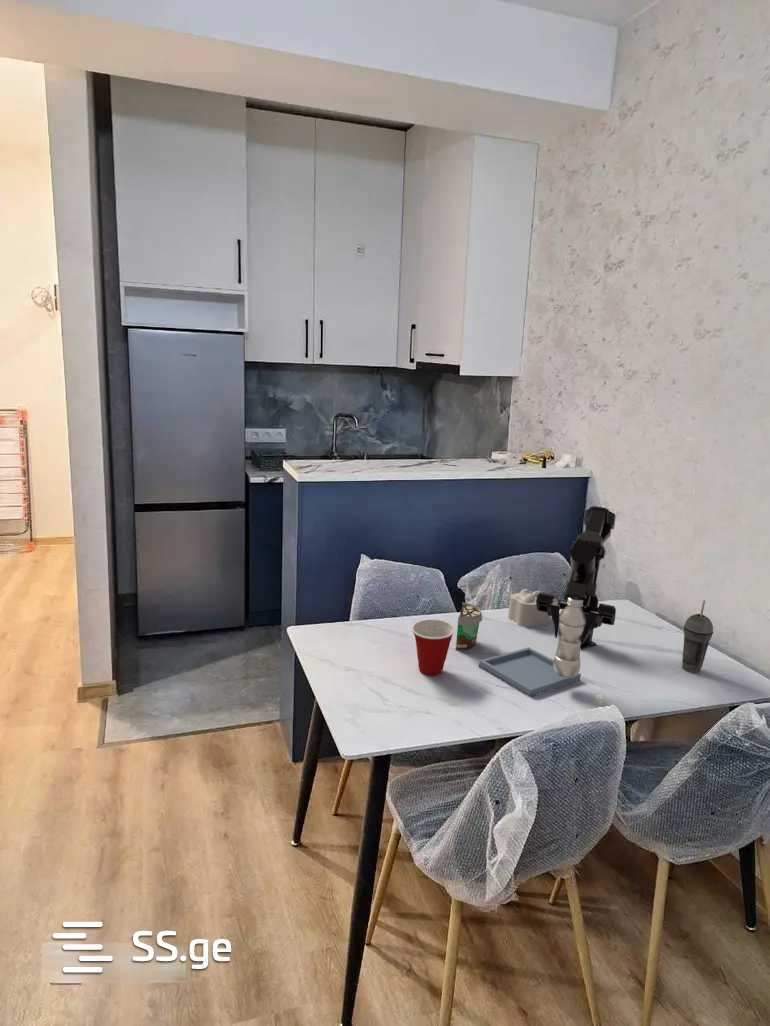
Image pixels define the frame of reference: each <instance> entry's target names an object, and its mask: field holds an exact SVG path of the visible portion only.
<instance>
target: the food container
mask: <svg viewBox="0 0 770 1026" xmlns="http://www.w3.org/2000/svg"><path fill="white" fill-rule="evenodd" d="M482 621H483V613H482V610H481V609H480V607H478V606H476V605H474V604H472V603H468V602H462V605H461V610H460V614H459V616H458V620H457V629H456V630H457V631H456V642H455V643H456V644H455V650H456V651H467V650H472V649H474V648H475V647H476V646H477V645H476V644H477V640H478V639H477V637H478V633H479V627H480V623H481V622H482Z"/></svg>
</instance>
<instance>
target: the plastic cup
mask: <svg viewBox="0 0 770 1026" xmlns="http://www.w3.org/2000/svg"><path fill="white" fill-rule="evenodd" d="M455 631H456V628H455V625H454V624H452V623H451V622H448V621H446V620H442V619H437V618H436V619H434V618H432V619H431V618H429V619H428V618H427V619H426V618H425V619H422V620H418V621H417V622H415V623H413V625H412V626H411V632H412V633H413V634H414V639H415V646H416V655H417V662H418V663H417V664H418V670H419V672H420V673H421V674H422V675H425V676H431V677H435V676H439V675H441V674H442V672H443V670H444V667H445V662H446V660H447V656H448V652H449V648H450V644H451V642H452V638H453V635H454V633H455Z"/></svg>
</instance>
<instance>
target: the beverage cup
mask: <svg viewBox="0 0 770 1026" xmlns="http://www.w3.org/2000/svg"><path fill="white" fill-rule="evenodd" d="M705 604H706V600H702V604H701V609H700V613H695V614H693V615H690V616H689V617H688V618H687V619H686V620H685V623H684V625H683V635H684V636H683V648H682V649H683V651H682V658H681V659H682V661H681V663H682V667H681V668H682V670H683V671H685V672H687V673H690V674H700V673H701V670H702V667H703V664H704V662H705V661H704V660H705V657H706V654H707V650H708V647H709V644H710V641H711V639H712V636H713V635H714V626H713V625H714V624H713V622H712V620H711V619H710V618H709V617H707V616H706V615H704V614H703V613H704V611H705Z"/></svg>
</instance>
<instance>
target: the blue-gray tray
mask: <svg viewBox="0 0 770 1026" xmlns="http://www.w3.org/2000/svg"><path fill="white" fill-rule="evenodd" d="M553 660H554V658H551V657H549V656H547V655H544V654H543V653H541V652H539V651H537V650H536V649H533V648H531V647H529V646H528V647H524V648H520V649H517V650H512V651H510V652H506V653H502V654H498V655H494V656H490V657H487V658H483V659H479V661H478V662H479V663H478V667H479V668H480V669H481V670H484V671H486V672H487V673H488V672H489V674H490V675H491V676H494V677H495V678H497V679H498V678H499V680H500V679H501V680H500V681H501V682H504V683H505V682H506V683H505V684H507V685H509V686H510V685H511V687H513V688H514V689H515V688H516V689H515V690H517V691H519V692H520V691H521V693H522V692H523V695H525V694H526V696H527V695H528V696H527V697H529V698H530V696H531V697H534V696H537V695H536V694H538V695H540V694H539V693H541V694H543V692H544V693H547V692H549V690H550V691H552V689H553V690H555V688H556V689H558V688H561V687H565V686H567V685H572V684H574V683H576V682H580V681H581V676H582V674H581V673H580V672H579V673H578V674H577V675H576V676H575V677H571V678H568V677H563V676H560V675H558V674H557V673H556V672H555V671H554V668H553ZM546 691H547V692H546ZM533 695H534V696H533Z"/></svg>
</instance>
